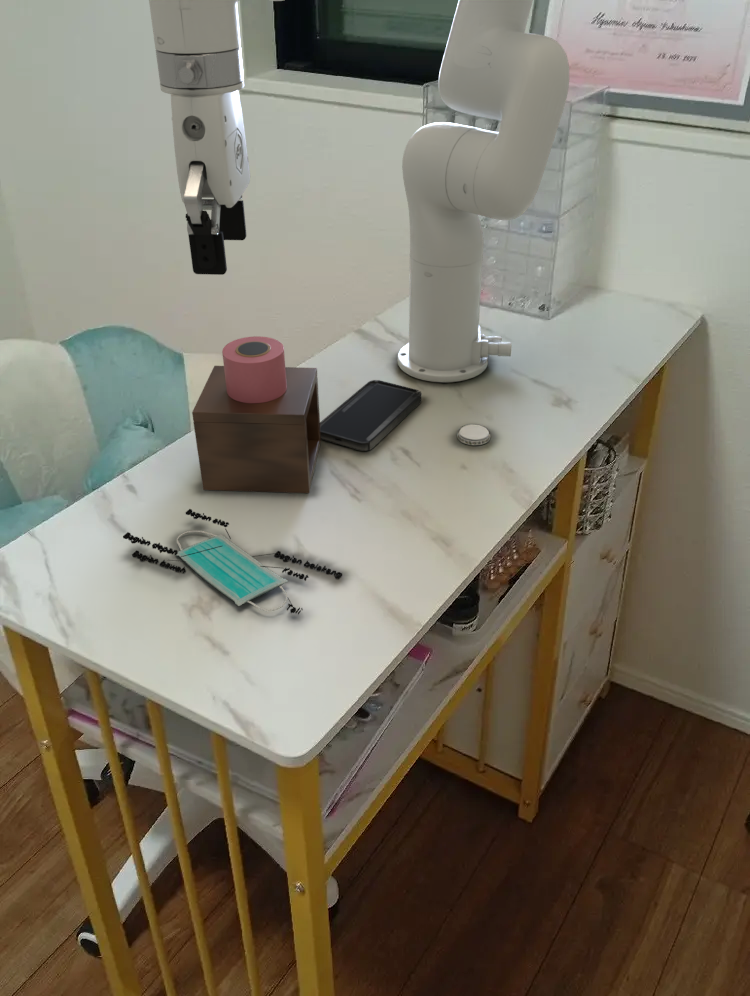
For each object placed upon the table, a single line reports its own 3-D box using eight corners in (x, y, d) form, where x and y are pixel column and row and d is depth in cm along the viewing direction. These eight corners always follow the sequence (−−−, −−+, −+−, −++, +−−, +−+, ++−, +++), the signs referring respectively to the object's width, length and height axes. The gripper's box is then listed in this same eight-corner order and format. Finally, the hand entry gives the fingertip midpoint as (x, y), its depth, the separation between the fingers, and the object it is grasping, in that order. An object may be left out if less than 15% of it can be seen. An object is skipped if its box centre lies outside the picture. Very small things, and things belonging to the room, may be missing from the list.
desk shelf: (321, 441, 110) (317, 367, 104) (309, 493, 101) (304, 415, 95) (223, 439, 111) (214, 365, 105) (203, 490, 102) (191, 412, 96)
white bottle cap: (452, 440, 109) (452, 436, 109) (464, 425, 112) (464, 421, 112) (483, 447, 108) (484, 443, 108) (494, 432, 111) (495, 427, 111)
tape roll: (290, 375, 103) (288, 335, 100) (282, 404, 97) (278, 362, 94) (233, 374, 103) (228, 334, 100) (221, 402, 98) (216, 361, 95)
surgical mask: (110, 535, 88) (173, 482, 95) (118, 569, 90) (179, 515, 98) (291, 597, 80) (345, 534, 87) (295, 632, 83) (347, 568, 90)
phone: (424, 391, 117) (367, 444, 107) (424, 399, 118) (367, 452, 107) (371, 378, 121) (311, 428, 110) (371, 385, 121) (311, 436, 111)
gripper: (221, 90, 74) (241, 289, 84) (259, 54, 88) (272, 228, 98) (131, 89, 75) (161, 287, 84) (183, 54, 89) (204, 227, 99)
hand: (221, 255), depth 91 cm, fingers open, 9 cm apart
